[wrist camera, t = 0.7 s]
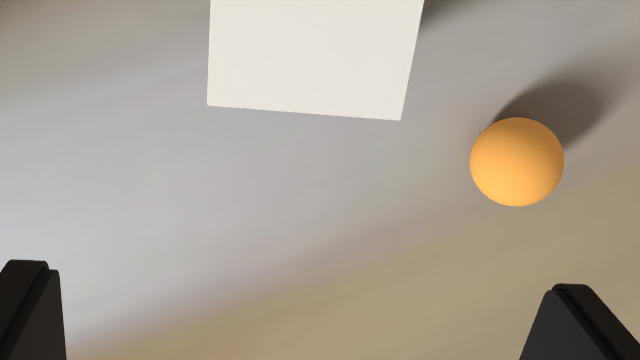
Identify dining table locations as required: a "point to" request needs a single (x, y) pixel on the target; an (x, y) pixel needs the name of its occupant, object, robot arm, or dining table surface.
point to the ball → (517, 161)
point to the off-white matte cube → (313, 55)
